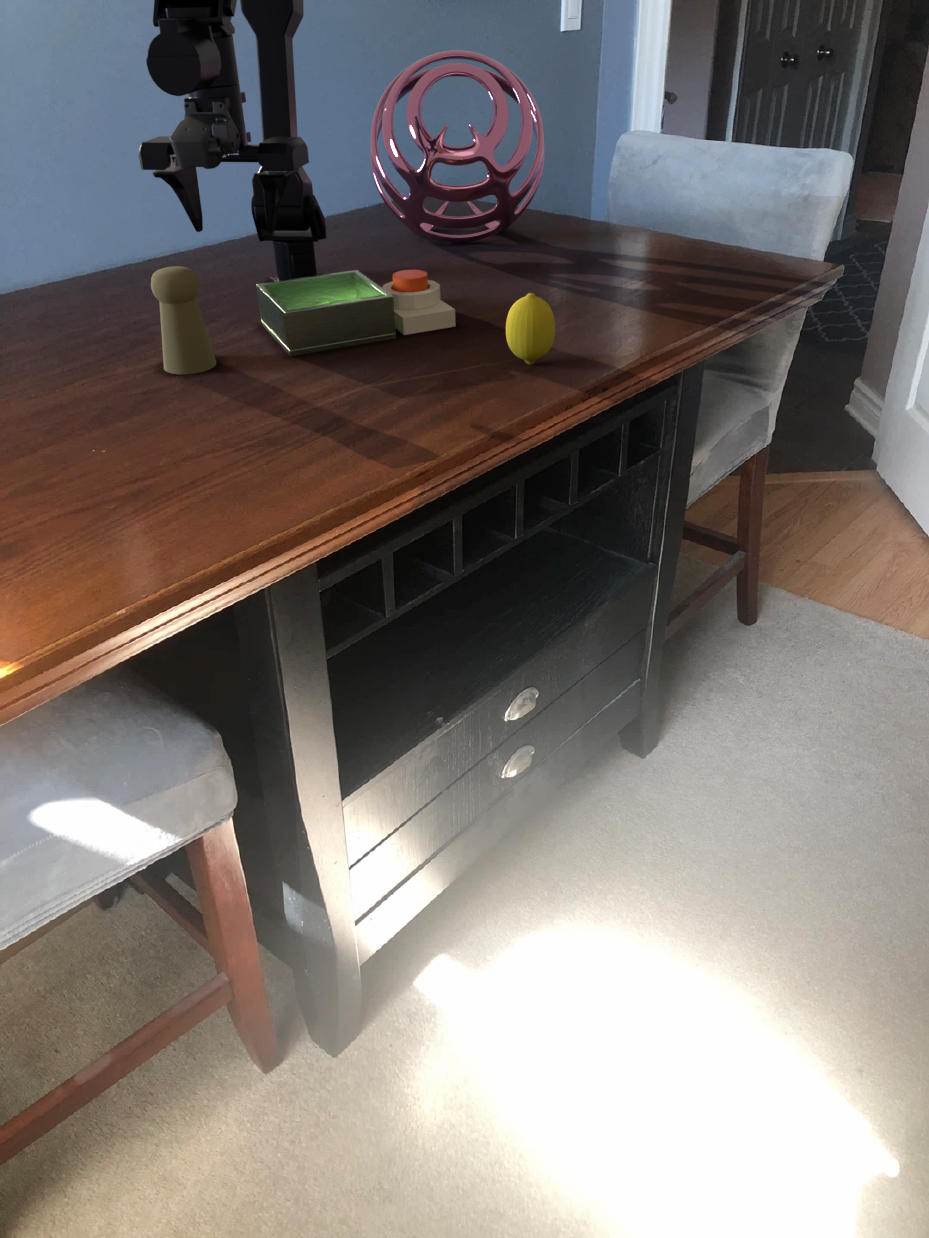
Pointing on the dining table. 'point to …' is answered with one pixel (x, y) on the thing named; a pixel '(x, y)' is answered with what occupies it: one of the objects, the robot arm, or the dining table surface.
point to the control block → (420, 310)
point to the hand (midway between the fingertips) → (235, 232)
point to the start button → (410, 281)
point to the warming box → (326, 312)
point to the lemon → (530, 328)
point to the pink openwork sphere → (457, 150)
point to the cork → (182, 322)
